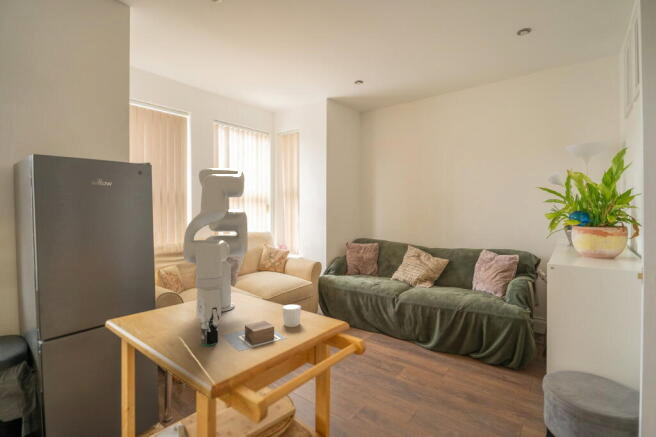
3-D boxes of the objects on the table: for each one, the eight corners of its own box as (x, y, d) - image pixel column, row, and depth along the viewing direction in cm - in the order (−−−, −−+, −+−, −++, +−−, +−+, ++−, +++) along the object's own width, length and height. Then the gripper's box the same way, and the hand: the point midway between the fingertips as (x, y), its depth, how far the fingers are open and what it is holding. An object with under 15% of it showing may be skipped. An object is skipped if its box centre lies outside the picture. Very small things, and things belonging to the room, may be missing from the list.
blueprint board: (221, 337, 105) (221, 335, 105) (266, 326, 114) (266, 324, 114) (239, 353, 93) (239, 350, 93) (286, 340, 102) (286, 337, 102)
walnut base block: (244, 337, 103) (244, 325, 103) (264, 332, 108) (264, 320, 107) (253, 344, 98) (253, 331, 98) (274, 338, 102) (274, 326, 102)
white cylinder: (300, 329, 112) (300, 309, 112) (280, 329, 112) (280, 309, 112) (301, 322, 119) (301, 303, 119) (283, 322, 119) (283, 303, 119)
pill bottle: (202, 342, 101) (202, 316, 101) (218, 340, 102) (218, 314, 102) (200, 348, 96) (200, 320, 96) (216, 347, 97) (216, 319, 97)
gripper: (189, 279, 103) (189, 335, 103) (204, 289, 90) (205, 353, 90) (212, 276, 108) (213, 330, 108) (230, 285, 94) (231, 346, 94)
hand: (209, 340), depth 99 cm, fingers closed on pill bottle, 4 cm apart
